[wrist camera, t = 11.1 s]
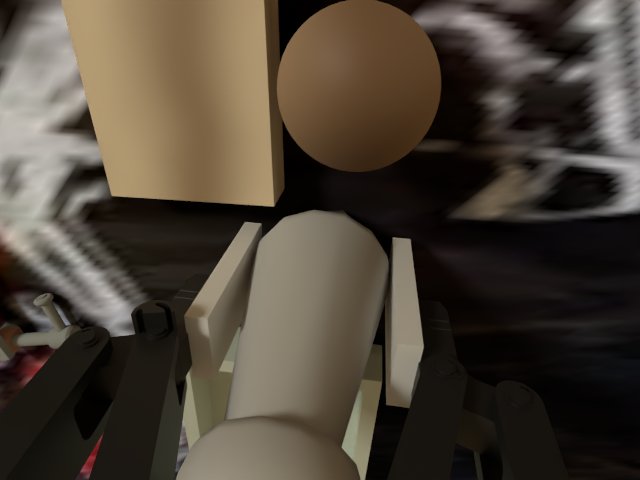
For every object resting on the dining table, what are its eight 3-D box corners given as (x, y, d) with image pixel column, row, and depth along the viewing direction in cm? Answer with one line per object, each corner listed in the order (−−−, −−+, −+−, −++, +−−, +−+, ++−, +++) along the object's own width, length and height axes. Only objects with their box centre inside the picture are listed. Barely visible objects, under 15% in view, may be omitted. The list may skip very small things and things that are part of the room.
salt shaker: (247, 257, 20) (75, 568, 9) (305, 165, 17) (163, 447, 6) (345, 314, 21) (302, 661, 10) (415, 235, 18) (467, 593, 7)
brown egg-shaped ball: (310, 116, 16) (277, 165, 11) (314, 0, 14) (276, -6, 9) (411, 124, 16) (425, 178, 11) (429, 7, 14) (457, 4, 9)
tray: (208, 439, 28) (194, 474, 26) (191, 320, 23) (171, 353, 21) (362, 463, 27) (360, 502, 25) (382, 345, 22) (382, 382, 20)
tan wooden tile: (141, 176, 19) (111, 195, 17) (83, -94, 14) (32, -112, 12) (286, 184, 18) (274, 206, 16) (277, -97, 14) (257, -117, 11)
